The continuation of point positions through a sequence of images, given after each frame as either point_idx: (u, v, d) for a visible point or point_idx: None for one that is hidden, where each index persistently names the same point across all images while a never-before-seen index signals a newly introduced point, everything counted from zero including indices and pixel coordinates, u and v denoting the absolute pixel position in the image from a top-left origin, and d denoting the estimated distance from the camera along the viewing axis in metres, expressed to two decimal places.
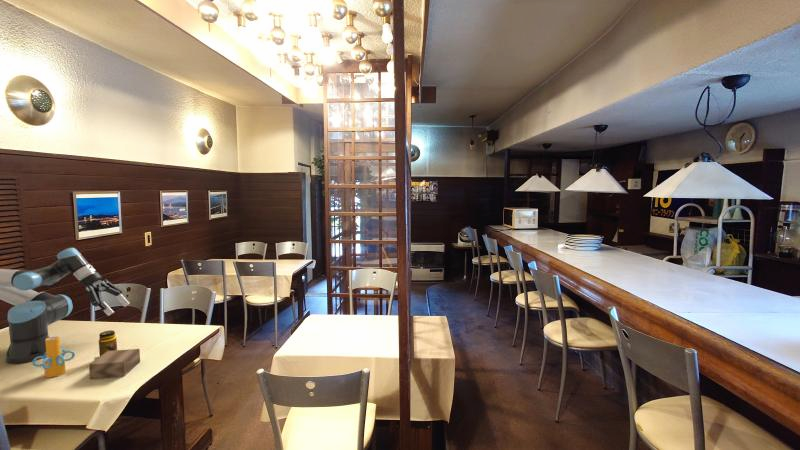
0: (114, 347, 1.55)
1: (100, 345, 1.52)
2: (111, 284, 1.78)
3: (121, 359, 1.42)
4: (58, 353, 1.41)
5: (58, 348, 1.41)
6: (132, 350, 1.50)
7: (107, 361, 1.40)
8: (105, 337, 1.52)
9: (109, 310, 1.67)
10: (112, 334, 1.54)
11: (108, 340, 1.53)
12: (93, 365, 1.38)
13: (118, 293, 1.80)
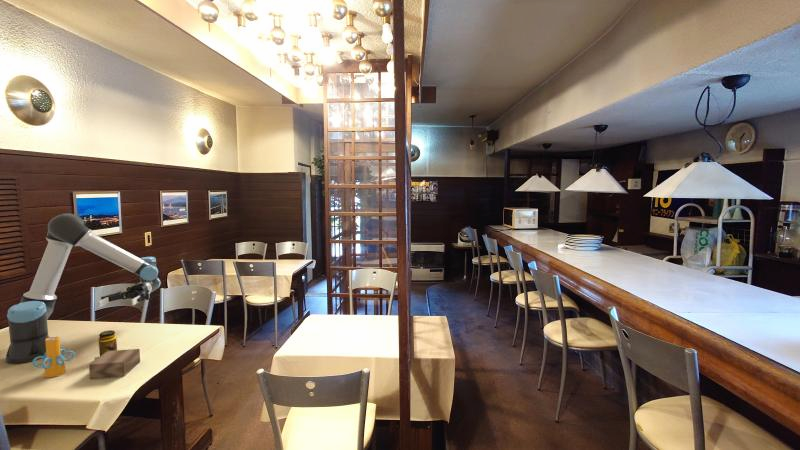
0: (114, 347, 1.55)
1: (100, 345, 1.52)
2: None
3: (121, 359, 1.42)
4: (58, 353, 1.41)
5: (58, 348, 1.41)
6: (132, 350, 1.50)
7: (107, 361, 1.40)
8: (105, 337, 1.52)
9: (135, 302, 1.66)
10: (112, 334, 1.54)
11: (108, 340, 1.53)
12: (93, 365, 1.38)
13: None
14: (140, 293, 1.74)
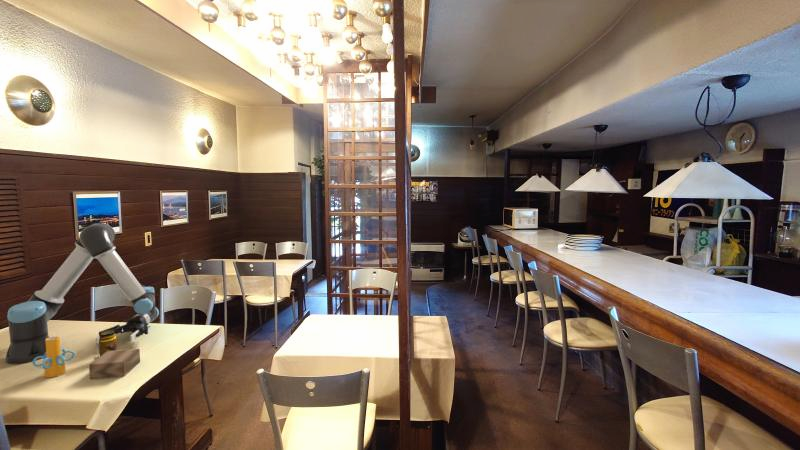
0: (114, 347, 1.55)
1: (100, 345, 1.52)
2: None
3: (121, 359, 1.42)
4: (58, 353, 1.41)
5: (58, 348, 1.41)
6: (132, 350, 1.50)
7: (107, 361, 1.40)
8: (105, 337, 1.52)
9: (134, 338, 1.63)
10: (112, 334, 1.54)
11: (108, 340, 1.53)
12: (93, 365, 1.38)
13: None
14: (139, 327, 1.71)
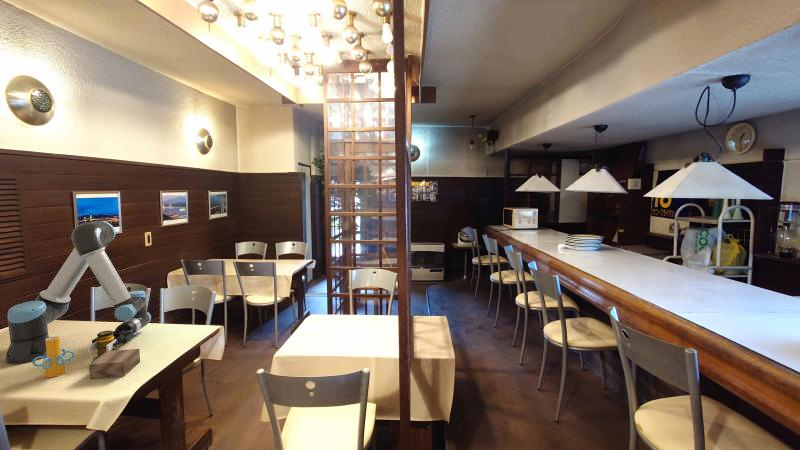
0: None
1: (98, 345, 1.52)
2: None
3: (121, 359, 1.42)
4: (58, 353, 1.41)
5: (58, 348, 1.41)
6: (132, 350, 1.50)
7: (107, 361, 1.40)
8: (103, 337, 1.52)
9: (111, 348, 1.52)
10: (110, 334, 1.54)
11: (106, 340, 1.52)
12: (93, 365, 1.38)
13: None
14: (122, 335, 1.61)
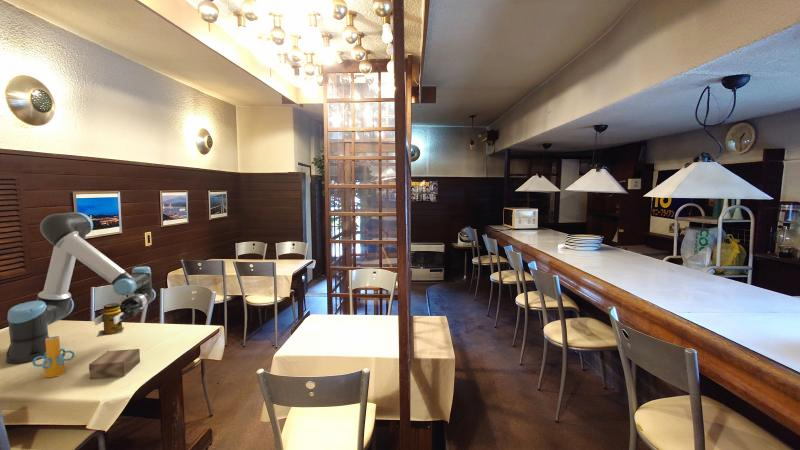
0: None
1: (104, 317, 1.47)
2: None
3: (121, 359, 1.42)
4: (58, 353, 1.41)
5: (58, 348, 1.41)
6: (132, 350, 1.50)
7: (107, 361, 1.40)
8: (109, 309, 1.47)
9: (118, 320, 1.47)
10: (117, 306, 1.49)
11: (113, 312, 1.48)
12: (93, 365, 1.38)
13: None
14: (128, 308, 1.56)
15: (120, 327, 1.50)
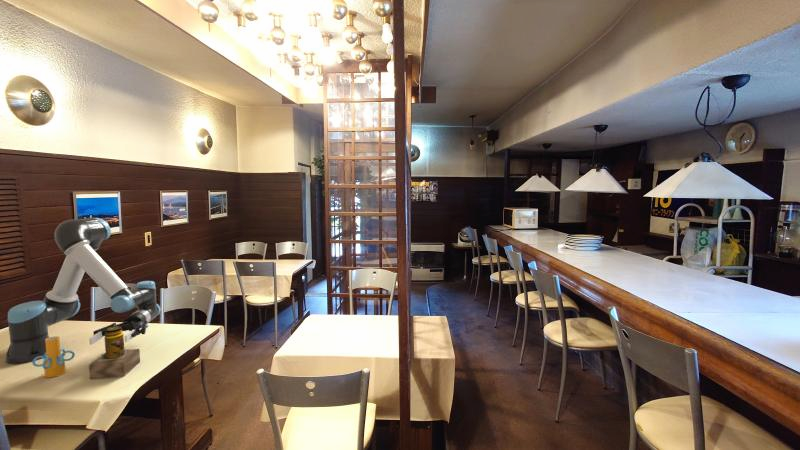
0: (121, 344, 1.44)
1: (106, 342, 1.41)
2: None
3: (121, 359, 1.42)
4: (58, 353, 1.41)
5: (58, 348, 1.41)
6: (132, 350, 1.50)
7: (107, 361, 1.40)
8: (111, 333, 1.41)
9: (129, 338, 1.43)
10: (119, 330, 1.43)
11: (115, 336, 1.42)
12: (93, 365, 1.38)
13: None
14: (136, 326, 1.52)
15: (122, 351, 1.45)
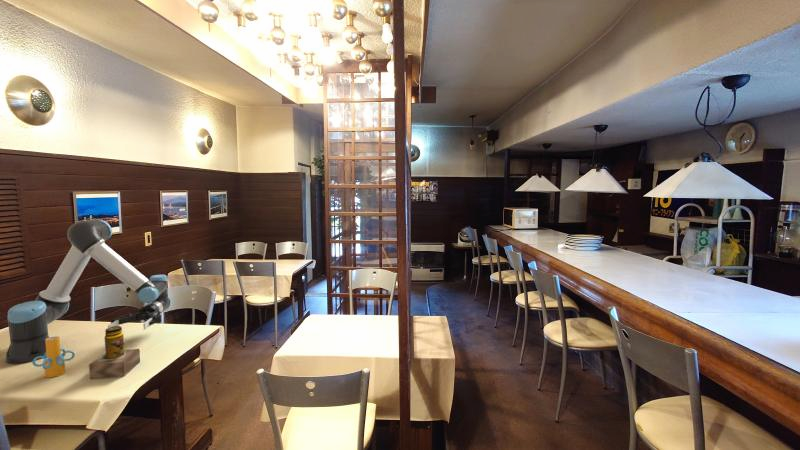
0: (121, 344, 1.44)
1: (106, 342, 1.41)
2: None
3: (121, 359, 1.42)
4: (58, 353, 1.41)
5: (58, 348, 1.41)
6: (132, 350, 1.50)
7: (107, 361, 1.40)
8: (111, 333, 1.41)
9: (147, 326, 1.56)
10: (119, 330, 1.43)
11: (115, 336, 1.42)
12: (93, 365, 1.38)
13: None
14: (152, 315, 1.65)
15: (122, 351, 1.45)
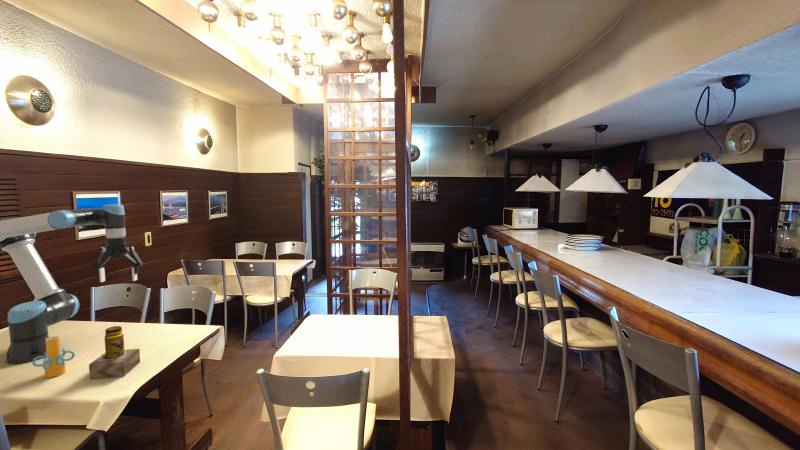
0: (121, 344, 1.44)
1: (106, 342, 1.41)
2: (132, 254, 1.67)
3: (121, 359, 1.42)
4: (58, 353, 1.41)
5: (58, 348, 1.41)
6: (132, 350, 1.50)
7: (107, 361, 1.40)
8: (111, 333, 1.41)
9: None
10: (119, 330, 1.43)
11: (115, 336, 1.42)
12: (93, 365, 1.38)
13: None
14: None
15: (122, 351, 1.45)
